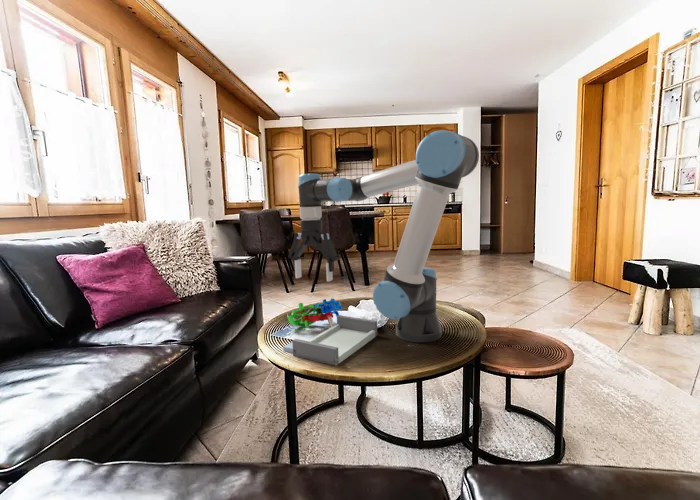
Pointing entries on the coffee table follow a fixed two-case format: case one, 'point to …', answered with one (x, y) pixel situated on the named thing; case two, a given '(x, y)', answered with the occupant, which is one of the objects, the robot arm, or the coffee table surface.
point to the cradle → (337, 340)
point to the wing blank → (289, 347)
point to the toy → (318, 316)
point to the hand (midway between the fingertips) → (313, 279)
